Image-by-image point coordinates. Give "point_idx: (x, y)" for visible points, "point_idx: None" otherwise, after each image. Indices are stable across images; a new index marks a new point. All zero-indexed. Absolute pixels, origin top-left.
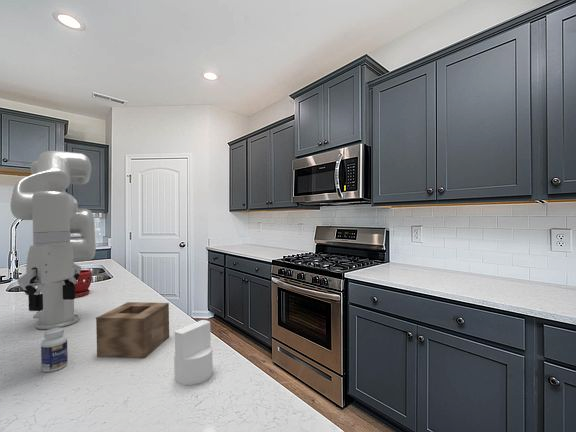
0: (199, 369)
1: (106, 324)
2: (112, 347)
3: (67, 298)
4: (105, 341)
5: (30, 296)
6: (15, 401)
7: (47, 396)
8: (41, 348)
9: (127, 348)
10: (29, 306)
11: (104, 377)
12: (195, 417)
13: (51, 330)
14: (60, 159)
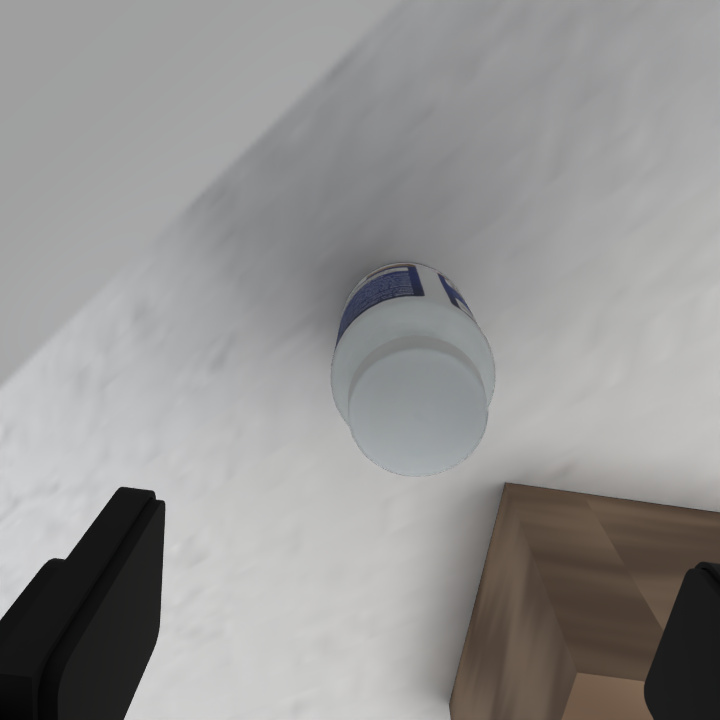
0: None
1: (538, 694)
2: (494, 602)
3: (669, 638)
4: (512, 590)
5: None
6: (89, 357)
7: (133, 469)
8: (349, 321)
9: (475, 673)
10: (42, 573)
11: (281, 615)
12: None
13: (415, 396)
14: None
